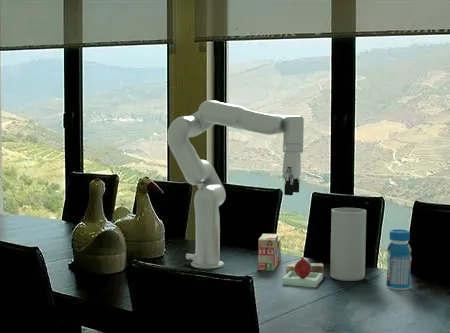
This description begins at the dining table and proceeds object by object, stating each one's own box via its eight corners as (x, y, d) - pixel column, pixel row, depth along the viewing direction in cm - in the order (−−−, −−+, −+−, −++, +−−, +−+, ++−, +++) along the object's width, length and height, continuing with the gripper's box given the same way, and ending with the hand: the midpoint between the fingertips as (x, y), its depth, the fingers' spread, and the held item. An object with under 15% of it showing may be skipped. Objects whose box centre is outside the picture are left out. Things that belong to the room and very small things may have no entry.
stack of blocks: (265, 259, 297) (266, 229, 296) (280, 259, 296) (281, 230, 295) (257, 270, 276) (258, 238, 275) (274, 271, 275) (274, 239, 274)
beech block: (286, 276, 267) (286, 265, 267) (294, 273, 272) (294, 263, 271) (295, 277, 265) (295, 267, 264) (303, 274, 269) (303, 264, 269)
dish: (282, 284, 254) (282, 277, 254) (290, 277, 265) (290, 270, 265) (316, 287, 250) (316, 280, 250) (322, 279, 261) (322, 273, 261)
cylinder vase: (368, 275, 268) (369, 209, 266) (359, 283, 257) (361, 213, 255) (335, 272, 273) (337, 207, 271) (326, 279, 262) (327, 211, 260)
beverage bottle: (396, 291, 245) (398, 233, 243) (380, 286, 252) (382, 229, 251) (415, 289, 249) (417, 231, 247) (399, 283, 256) (401, 228, 255)
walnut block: (311, 278, 265) (311, 265, 264) (310, 275, 269) (310, 263, 269) (323, 278, 264) (323, 266, 264) (322, 275, 269) (322, 263, 268)
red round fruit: (293, 277, 261) (293, 255, 260) (308, 277, 261) (309, 255, 260) (296, 281, 255) (296, 258, 254) (312, 281, 255) (312, 258, 255)
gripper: (288, 146, 280) (287, 190, 281) (277, 149, 263) (276, 195, 265) (307, 147, 277) (306, 191, 279) (297, 150, 261) (296, 196, 262)
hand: (291, 193), depth 272 cm, fingers open, 9 cm apart
